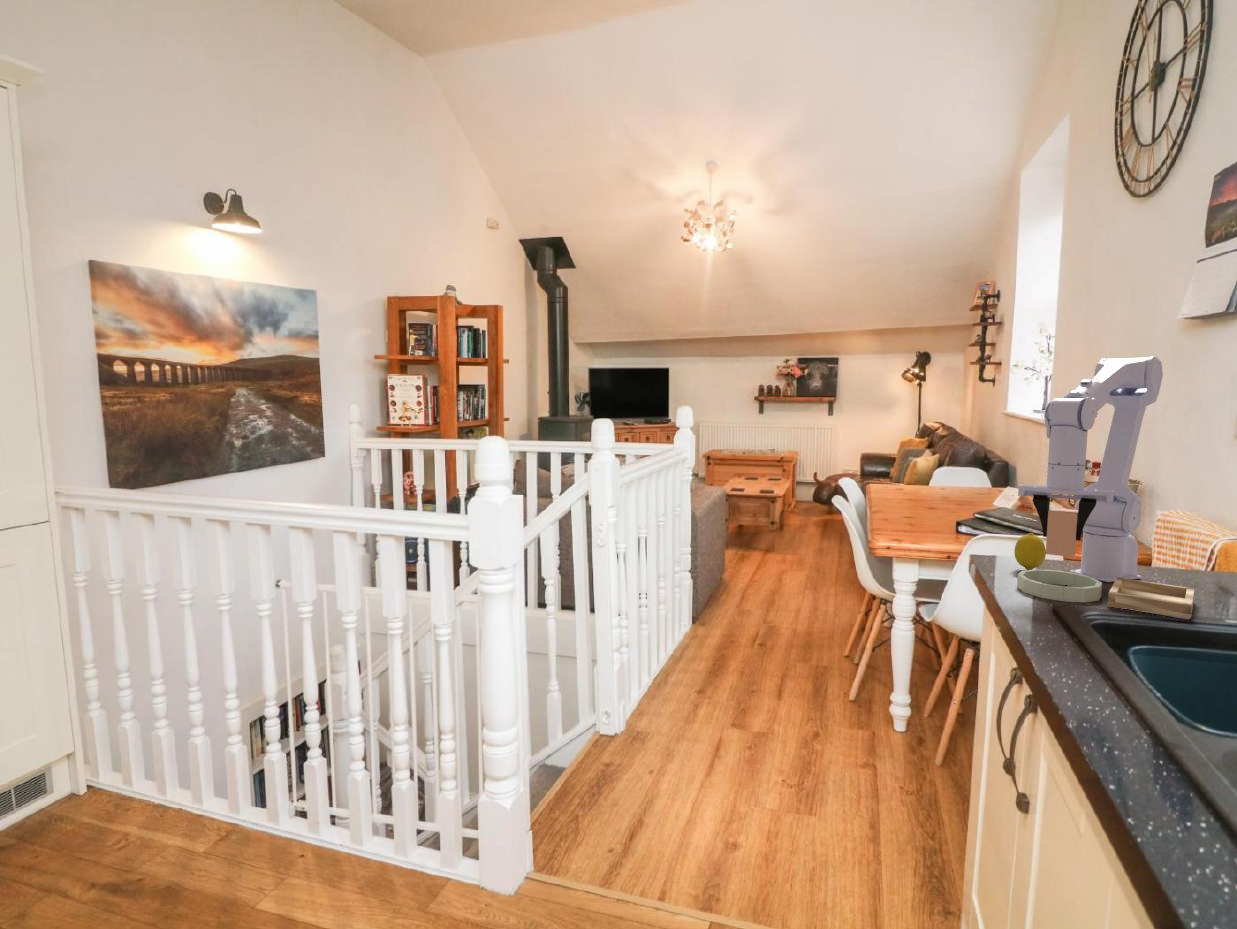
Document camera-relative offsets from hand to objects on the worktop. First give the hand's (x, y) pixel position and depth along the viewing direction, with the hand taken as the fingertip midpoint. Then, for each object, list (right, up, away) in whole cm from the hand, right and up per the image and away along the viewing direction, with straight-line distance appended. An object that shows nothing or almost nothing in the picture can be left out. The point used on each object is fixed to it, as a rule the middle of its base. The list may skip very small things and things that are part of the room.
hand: (1061, 537), depth 126 cm
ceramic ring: (0, -10, +1) cm, 10 cm away
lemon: (+3, -9, +16) cm, 18 cm away
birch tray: (+11, -11, -7) cm, 17 cm away
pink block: (0, -3, 0) cm, 3 cm away
